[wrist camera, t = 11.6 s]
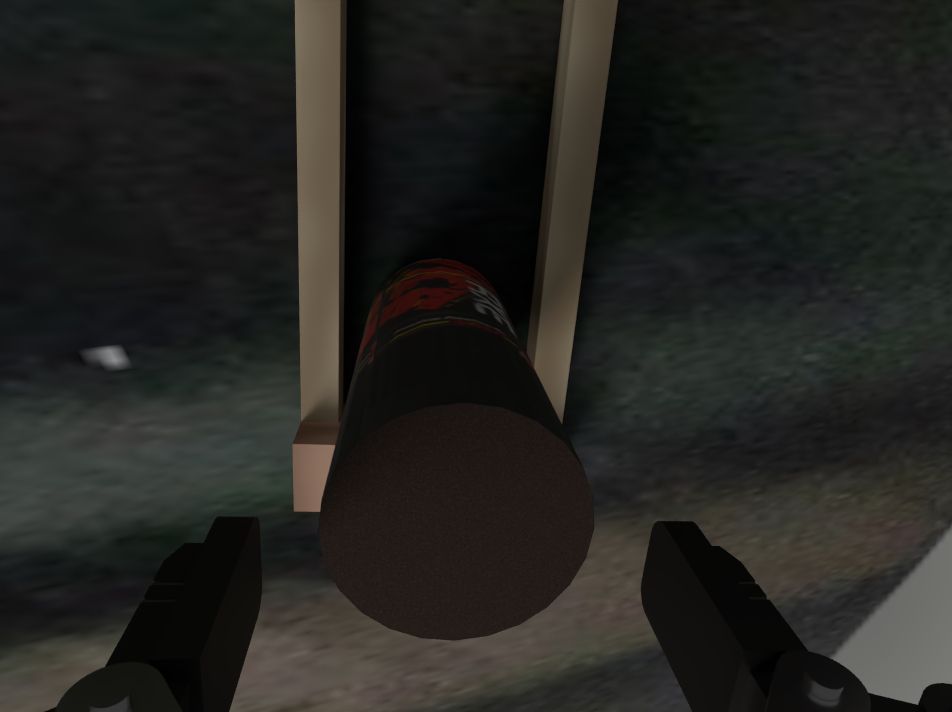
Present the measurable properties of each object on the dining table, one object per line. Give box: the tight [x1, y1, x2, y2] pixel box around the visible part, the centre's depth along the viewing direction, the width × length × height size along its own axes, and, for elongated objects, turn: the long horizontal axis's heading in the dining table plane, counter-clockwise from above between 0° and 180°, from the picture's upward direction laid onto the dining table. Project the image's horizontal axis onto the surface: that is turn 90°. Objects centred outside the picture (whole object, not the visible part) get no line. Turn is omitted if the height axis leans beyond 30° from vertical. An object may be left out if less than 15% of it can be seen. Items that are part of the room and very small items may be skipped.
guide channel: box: [293, 0, 618, 512], centre depth 24 cm, size 11×26×4 cm, turn 176°
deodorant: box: [318, 258, 594, 640], centre depth 21 cm, size 6×6×15 cm
